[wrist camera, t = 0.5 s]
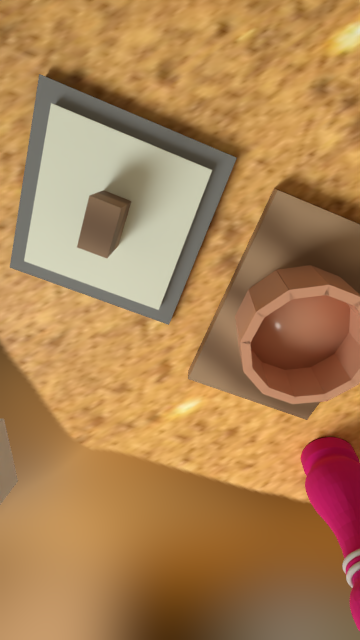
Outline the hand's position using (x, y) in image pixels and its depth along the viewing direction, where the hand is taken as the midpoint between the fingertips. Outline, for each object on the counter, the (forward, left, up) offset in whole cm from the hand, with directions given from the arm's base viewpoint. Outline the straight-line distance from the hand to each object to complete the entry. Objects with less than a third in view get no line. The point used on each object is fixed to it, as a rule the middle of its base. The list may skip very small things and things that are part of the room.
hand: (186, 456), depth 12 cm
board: (+1, +11, -23) cm, 25 cm away
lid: (-2, -8, -22) cm, 23 cm away
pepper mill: (+16, +24, -23) cm, 37 cm away
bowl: (+1, +11, -21) cm, 24 cm away
